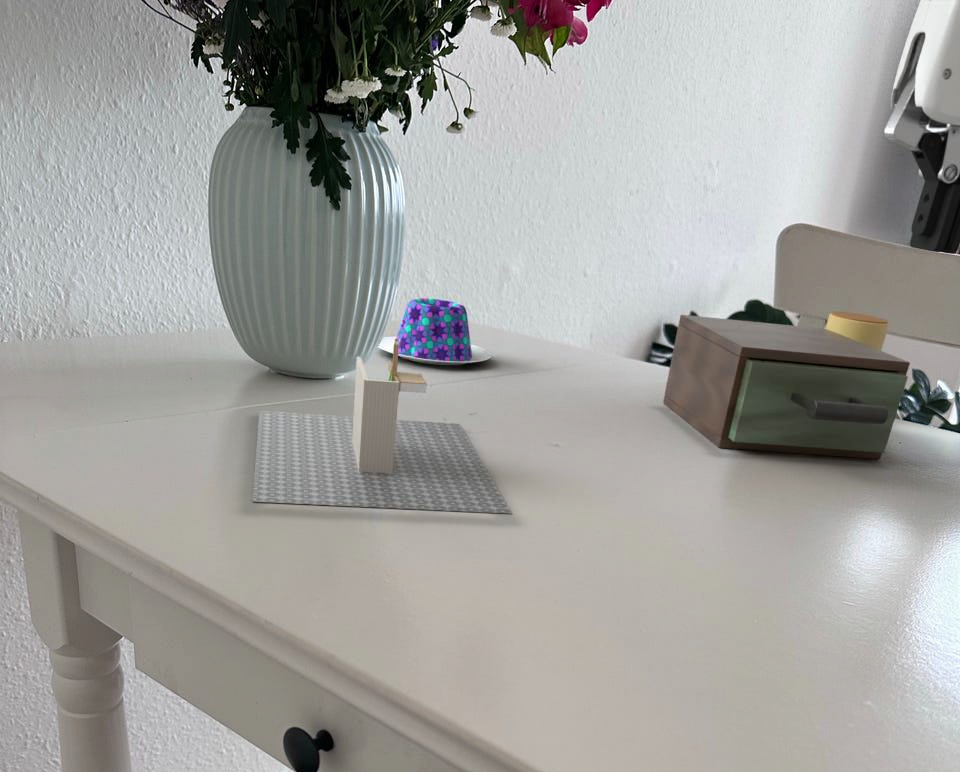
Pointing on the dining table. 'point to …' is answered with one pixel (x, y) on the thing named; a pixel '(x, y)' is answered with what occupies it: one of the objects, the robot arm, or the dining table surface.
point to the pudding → (435, 334)
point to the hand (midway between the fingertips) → (932, 249)
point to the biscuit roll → (859, 328)
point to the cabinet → (721, 362)
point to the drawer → (816, 405)
